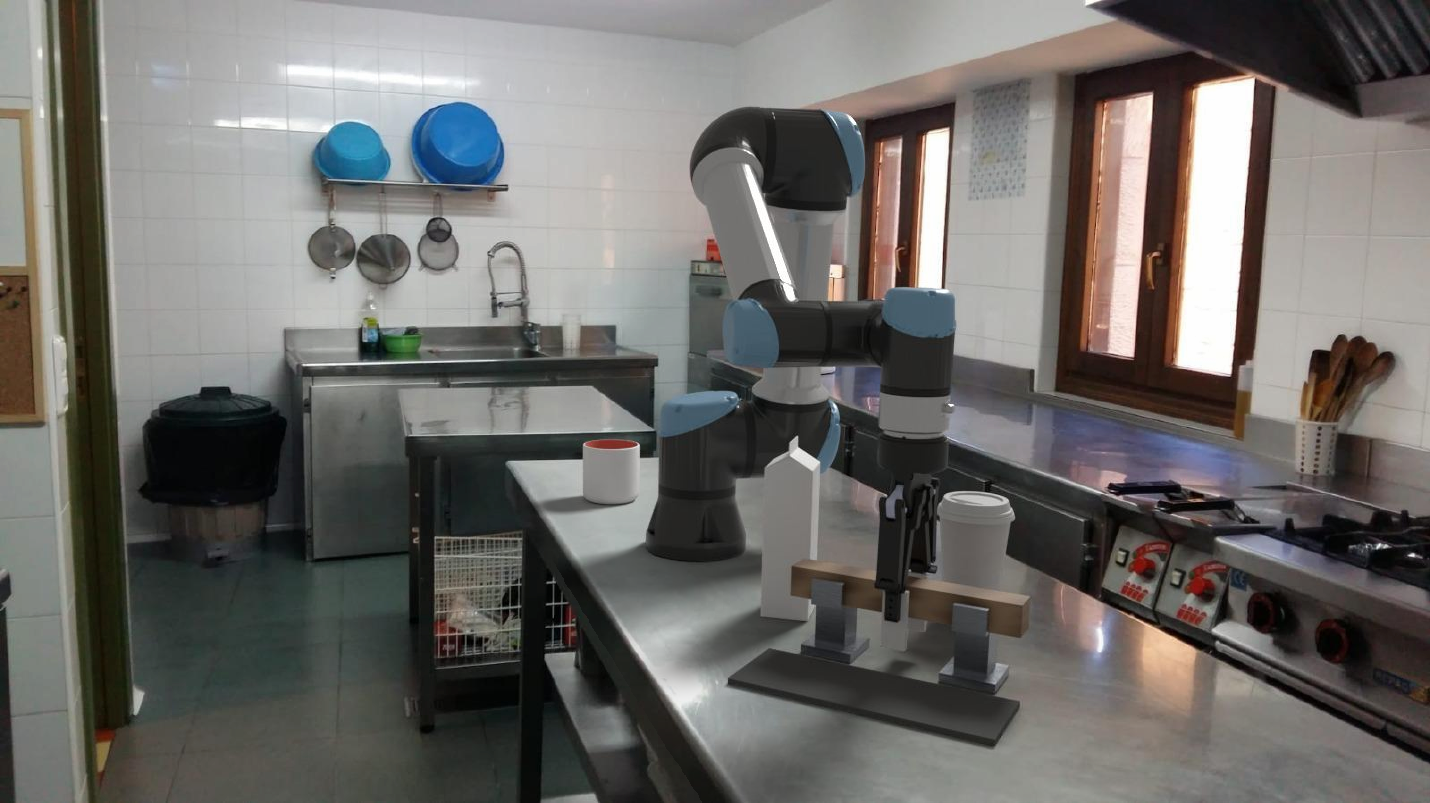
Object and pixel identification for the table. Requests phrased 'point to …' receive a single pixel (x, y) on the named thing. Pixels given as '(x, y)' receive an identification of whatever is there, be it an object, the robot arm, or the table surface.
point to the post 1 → (833, 624)
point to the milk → (788, 530)
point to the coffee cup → (974, 538)
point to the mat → (879, 695)
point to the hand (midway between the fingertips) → (903, 637)
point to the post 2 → (973, 651)
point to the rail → (917, 596)
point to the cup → (611, 471)
